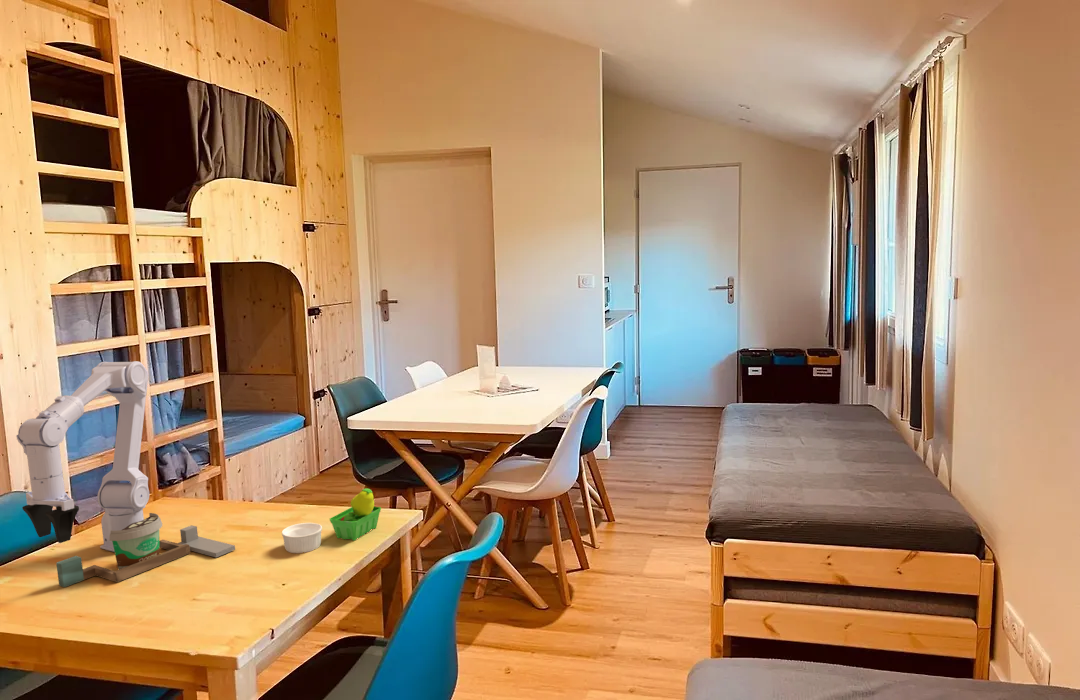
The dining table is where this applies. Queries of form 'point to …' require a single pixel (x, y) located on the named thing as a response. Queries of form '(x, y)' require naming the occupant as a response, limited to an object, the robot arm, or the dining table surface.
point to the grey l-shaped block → (203, 543)
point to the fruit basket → (357, 517)
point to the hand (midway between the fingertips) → (54, 538)
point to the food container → (137, 541)
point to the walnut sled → (74, 573)
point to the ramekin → (302, 537)
